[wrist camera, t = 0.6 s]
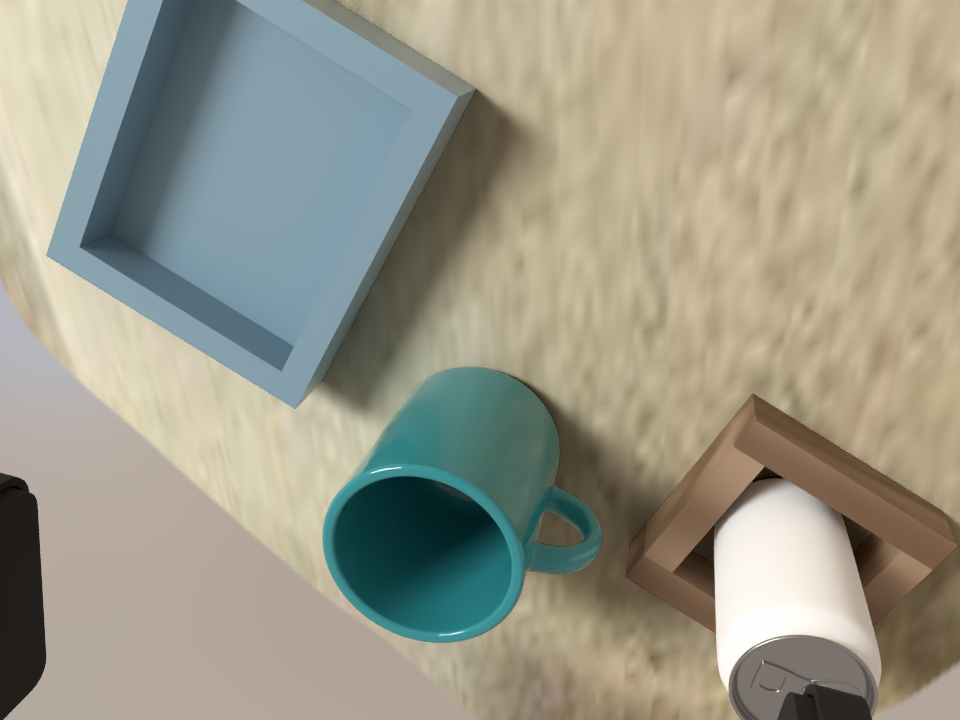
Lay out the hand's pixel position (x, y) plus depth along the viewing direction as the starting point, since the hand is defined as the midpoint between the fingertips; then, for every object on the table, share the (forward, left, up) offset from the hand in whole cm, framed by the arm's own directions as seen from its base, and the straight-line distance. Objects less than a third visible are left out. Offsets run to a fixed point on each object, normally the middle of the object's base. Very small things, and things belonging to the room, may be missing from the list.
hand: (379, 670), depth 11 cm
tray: (+9, -15, -34) cm, 38 cm away
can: (+11, +17, -34) cm, 39 cm away
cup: (+16, +3, -34) cm, 37 cm away
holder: (+11, +17, -34) cm, 39 cm away
